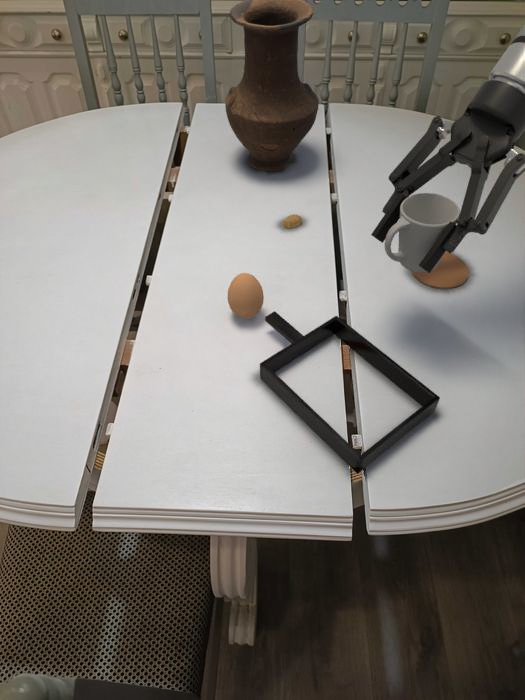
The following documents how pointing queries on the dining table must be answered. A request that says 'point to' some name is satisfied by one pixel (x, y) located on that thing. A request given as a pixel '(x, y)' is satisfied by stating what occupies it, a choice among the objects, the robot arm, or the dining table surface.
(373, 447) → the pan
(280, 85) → the vase
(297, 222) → the potato
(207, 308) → the dining table surface
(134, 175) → the dining table surface
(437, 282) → the coaster
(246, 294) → the egg
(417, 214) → the cup
